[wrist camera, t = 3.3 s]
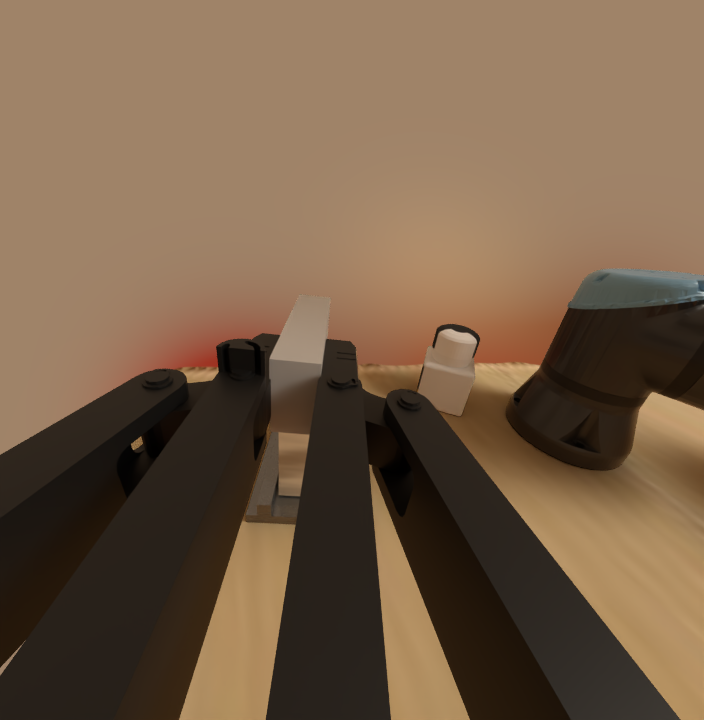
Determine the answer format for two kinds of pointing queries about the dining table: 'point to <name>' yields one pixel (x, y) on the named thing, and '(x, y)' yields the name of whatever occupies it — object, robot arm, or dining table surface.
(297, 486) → the birch block
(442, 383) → the medicine bottle
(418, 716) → the dining table surface
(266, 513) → the guide track
